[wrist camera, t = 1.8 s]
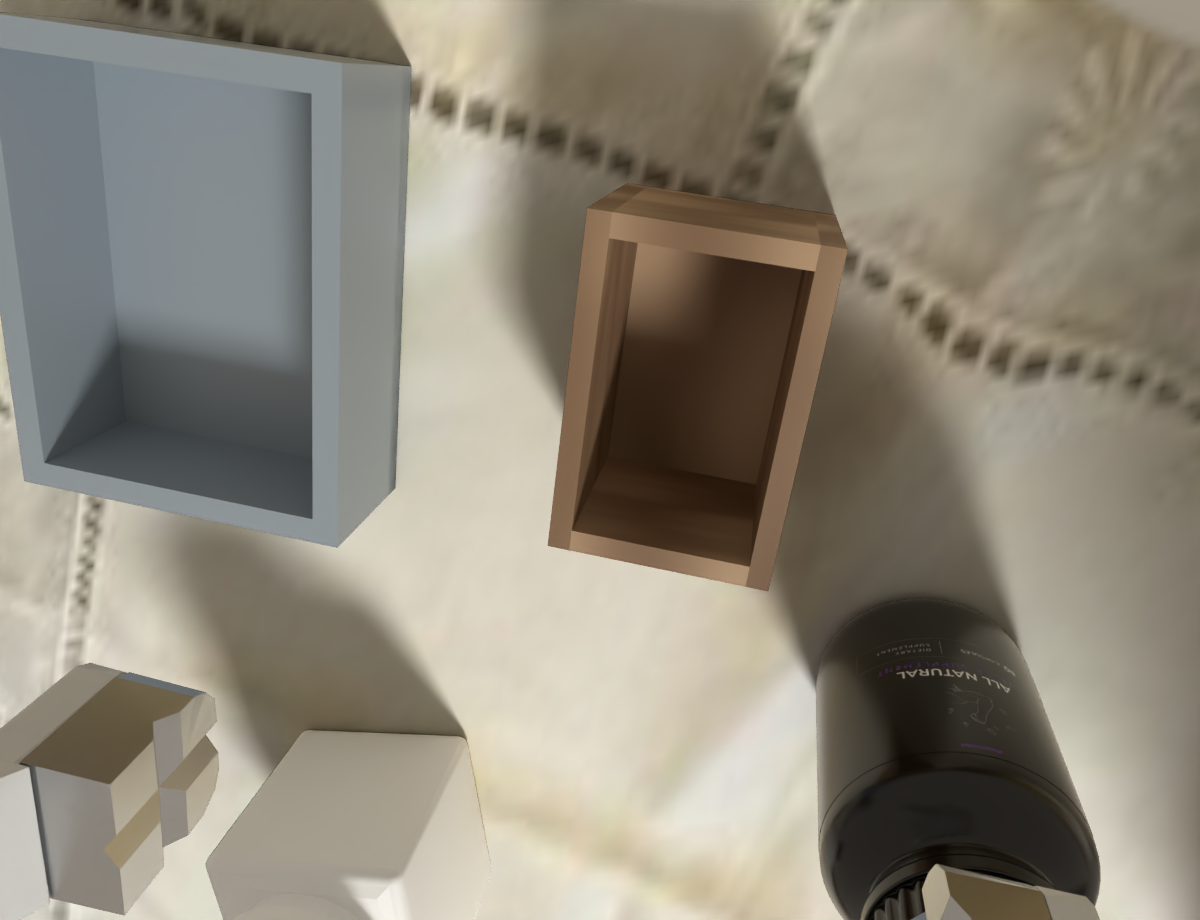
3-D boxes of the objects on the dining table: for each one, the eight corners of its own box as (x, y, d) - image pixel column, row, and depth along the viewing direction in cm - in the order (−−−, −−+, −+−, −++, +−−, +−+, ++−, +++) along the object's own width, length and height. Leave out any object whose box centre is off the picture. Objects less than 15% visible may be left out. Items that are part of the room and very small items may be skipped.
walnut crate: (835, 214, 26) (848, 249, 20) (771, 497, 29) (768, 590, 24) (628, 182, 27) (587, 208, 21) (591, 462, 30) (548, 545, 25)
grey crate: (411, 66, 26) (342, 63, 22) (395, 487, 32) (337, 547, 28) (79, 19, 28) (-44, 7, 23) (118, 432, 33) (24, 481, 29)
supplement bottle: (967, 556, 29) (1077, 845, 18) (1061, 717, 30) (1215, 1074, 19) (775, 640, 31) (768, 938, 20) (870, 785, 33) (912, 1135, 22)
